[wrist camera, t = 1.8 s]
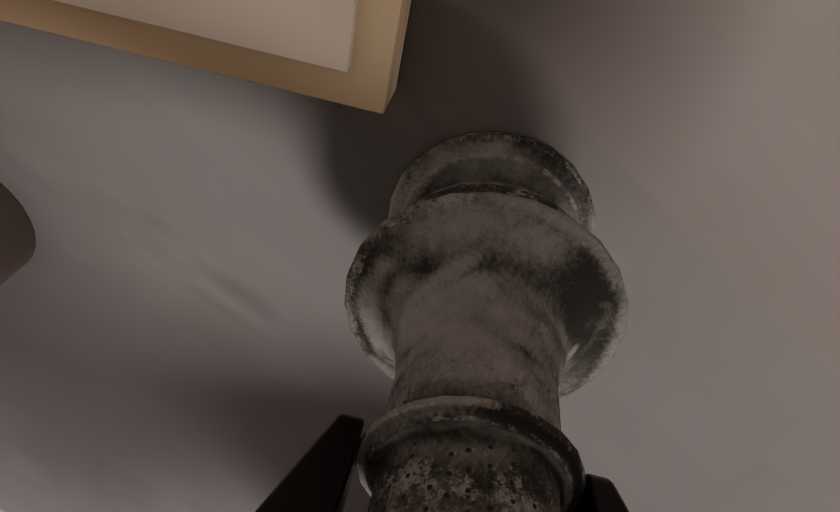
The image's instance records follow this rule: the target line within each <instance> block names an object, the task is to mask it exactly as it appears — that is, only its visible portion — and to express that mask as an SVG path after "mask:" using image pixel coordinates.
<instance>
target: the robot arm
mask: <svg viewBox="0 0 840 512" xmlns="http://www.w3.org/2000/svg"><path fill="white" fill-rule="evenodd" d="M363 427H364V420H363V419H362V418H360V417H356V416H352V415H348V414H340V415H339V416H337V417H336V418H335V420H334V421H333V422H332V423H331V424H330V425H329V427H328V428H327V429H326V430H325V431H324V432H323V434H322V435H321V436H320V437H319V438H318V439H317V440H316V442H315V443H314V444H313V445H312V446H311V447H310V449H309V450H308V451H307V452H306V453H305V454H304V456H303V457H302V458H301V459H300V460H299V461H298V462H297V464H296V465H295V466H294V467H293V468H292V469H291V471H290V472H289V473H288V474H287V475H286V476H285V478H284V479H283V480H282V481H281V482H280V483H279V484H278V486H277V487H276V488H275V489H274V490H273V491H272V493H271V494H270V495H269V496H268V497H267V498H266V500H265V501H264V502H263V503H262V504H261V505H260V506H259V508H258V509H257V510H256V511H255V512H343V508H344V505H345V501H346V497H347V493H348V489H349V485H350V482H351V478H352V474H353V470H354V466H355V462H356V456H357V451H358V446H359V442H360V440H361V436H362V432H363ZM573 512H629V510H628V509H627V507H626V505H625V503H624V502H623V500H622V498H621V496H620V495H619V493H618V491H617V489H616V487H615V486H614V484H613V483H612V482H611V481H610V480H609V479H607V478H604V477H600V476H596V475H592V474H585V481H584V493H583V495H582V497H581V499H580V501H579V502H578V504H577V506H576V507H575V509H574V511H573Z"/></svg>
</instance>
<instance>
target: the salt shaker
mask: <svg viewBox="0 0 840 512" xmlns="http://www.w3.org/2000/svg"><path fill="white" fill-rule="evenodd" d="M594 230H595V211H594V208H593V204H592V200H591V197H590V193H589V189H588V188H587V186H586V185H585V183H584V181H583V180H582V178H581V177H580V175H579V174H578V172H577V171H576V169H575V168H574V167H573V166H572V165H571V164H570V163H569V162H568V161H566V160H565V159H564V158H563V157H562V156H561V155H559V154H558V153H557V152H556V151H555V150H553V149H552V148H549V147H547V146H545V145H543V144H541V143H539V142H537V141H534V140H532V139H530V138H528V137H524V136H519V135H514V134H509V133H503V132H498V131H497V132H480V133H467V134H464V135H461V136H458V137H454V138H451V139H448V140H445V141H442V142H440V143H438V144H437V145H435V146H434V147H432V148H430V149H429V150H427V151H426V152H424V153H423V154H421V155H419V156H418V157H417V158H416V159H415V160H414V162H413V163H412V164H411V165H410V166H409V167H408V168H407V169H406V171H405V172H404V173H403V174H402V175H401V177H400V179H399V181H398V184H397V186H396V188H395V190H394V192H393V195H392V197H391V200H390V209H389V217H388V219H387V220H385V221H383V222H382V223H381V224H380V225H379V226H378V227H377V228H376V229H375V230H374V231H373V232H372V234H371V235H370V236H369V237H368V238H367V239H366V240H365V241H364V242H363V243H362V244H361V246H360V247H359V249H358V252H357V254H356V256H355V258H354V261H353V263H352V265H351V267H350V269H349V272H348V274H347V279H346V292H345V307H346V311H347V315H348V319H349V323H350V327H351V331H352V332H353V334H354V336H355V337H356V339H357V341H358V342H359V344H360V346H361V347H362V349H363V351H364V352H365V354H366V355H367V356H368V357H369V358H370V359H371V360H372V361H373V362H374V363H375V364H376V365H377V366H378V367H379V368H380V369H381V370H382V371H383V372H384V373H385V374H386V375H387V376H388V377H389V378H391V379H392V380H394V382H393V386H392V390H391V394H390V398H389V402H388V407H387V411H386V413H384V414H383V415H382V416H381V417H379V418H378V419H377V420H376V421H374V422H373V423H372V424H370V425H369V427H368V428H367V430H366V431H365V433H364V435H363V436H362V438H361V440H360V442H359V446H358V451H357V456H356V463H355V466H356V469H357V473H358V476H359V480H360V483H361V484H362V486H363V487H364V488H365V490H366V491H367V493H368V494H369V496H370V497H371V500H370V504H369V508H368V512H573V511H574V509H575V507H576V506H577V504H578V502H579V501H580V499H581V497H582V495H583V493H584V481H585V470H584V467H583V464H582V462H581V459H580V456H579V453H578V451H577V449H576V448H575V447H574V446H573V444H572V443H571V442H570V441H569V440H568V439H567V437H566V436H565V435H564V434H563V433H562V431H561V423H560V407H559V399H560V398H563V397H565V396H567V395H569V394H570V393H572V392H573V391H575V390H577V389H578V388H580V387H581V386H583V385H585V384H586V383H588V382H589V381H591V380H592V379H593V378H594V377H595V376H596V375H597V374H598V373H599V372H600V371H601V370H602V369H603V368H604V367H605V366H606V365H607V363H608V362H609V361H610V360H611V359H612V358H613V356H614V354H615V352H616V350H617V348H618V346H619V344H620V342H621V340H622V338H623V335H624V333H625V330H626V320H627V310H628V299H627V295H626V292H625V288H624V284H623V280H622V276H621V273H620V269H619V268H618V266H617V265H616V263H615V262H614V260H613V259H612V257H611V256H610V254H609V253H608V251H607V250H606V248H605V247H604V245H603V244H602V242H601V241H600V240H599V239H598V238H597V237H595V236H594Z"/></svg>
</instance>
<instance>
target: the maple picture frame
mask: <svg viewBox="0 0 840 512" xmlns="http://www.w3.org/2000/svg"><path fill="white" fill-rule="evenodd" d="M410 6H411V0H0V20H1V21H5V22H9V23H14V24H18V25H22V26H26V27H30V28H34V29H38V30H42V31H46V32H50V33H54V34H58V35H63V36H67V37H71V38H75V39H79V40H83V41H87V42H91V43H95V44H99V45H103V46H107V47H111V48H116V49H120V50H124V51H128V52H132V53H136V54H140V55H144V56H148V57H152V58H156V59H160V60H165V61H169V62H173V63H177V64H181V65H185V66H189V67H193V68H197V69H201V70H205V71H209V72H214V73H218V74H222V75H226V76H230V77H234V78H238V79H242V80H246V81H250V82H254V83H258V84H263V85H267V86H271V87H275V88H279V89H283V90H287V91H291V92H295V93H299V94H303V95H307V96H311V97H316V98H320V99H324V100H328V101H332V102H336V103H340V104H344V105H348V106H352V107H356V108H360V109H365V110H369V111H373V112H377V113H381V114H383V113H384V111H385V109H386V108H387V106H388V104H389V102H390V100H391V98H392V96H393V94H394V92H395V90H396V86H397V80H398V75H399V69H400V63H401V57H402V52H403V46H404V40H405V34H406V29H407V23H408V17H409V11H410Z"/></svg>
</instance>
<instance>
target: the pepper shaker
mask: <svg viewBox="0 0 840 512" xmlns="http://www.w3.org/2000/svg"><path fill="white" fill-rule="evenodd" d="M34 250H35V234H34V230H33V227H32V224H31V222H30V220H29V218H28V216H27V214H26V212H25V211H24V209H23V208H22V206H21V205H20V204H19V202H18V201H17V200H16V199H15V198H14V196H13V195H12V194H11V193H10V192H9V191H8V190H7V189H6V188H5V187H4V186H2V185H1V184H0V285H1V284H2V283H3V282H4V281H6V280H7V279H8V278H9V277H10V276H11V275H13V274H14V273H15V272H16V271H17V270H19V269H20V268H21V267H22V266H23V265H25V264H26V263H27V262H28V261H29V260H30V259H31V257H32V256H33V253H34Z"/></svg>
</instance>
